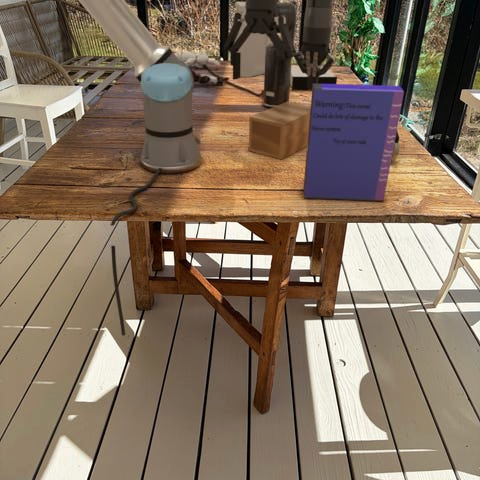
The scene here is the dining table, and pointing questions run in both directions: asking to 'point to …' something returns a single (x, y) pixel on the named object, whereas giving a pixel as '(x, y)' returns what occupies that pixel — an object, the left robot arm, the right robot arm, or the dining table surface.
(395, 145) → the figurine character
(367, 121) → the purple hardcover book
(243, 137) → the dining table surface
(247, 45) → the tall white box
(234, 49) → the left robot arm
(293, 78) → the disc drive
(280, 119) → the brown rectangular block
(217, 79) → the figurine
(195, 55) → the toy
